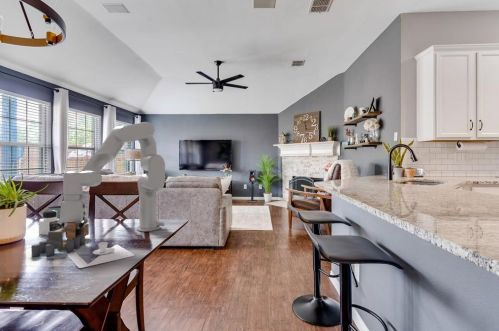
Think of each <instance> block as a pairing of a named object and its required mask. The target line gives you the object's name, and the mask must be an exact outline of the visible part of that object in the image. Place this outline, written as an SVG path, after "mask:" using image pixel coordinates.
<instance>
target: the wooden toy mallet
mask: <svg viewBox="0 0 499 331" xmlns="http://www.w3.org/2000/svg"><path fill="white" fill-rule="evenodd" d="M76 229H77V227H76V222H73V223H67V226H66V227H63V228H61V229H58V230H56V231H50V232H48V235H47V237H48V238H47V239H48V244H54V247H55V249H61V248H63V240H64V239H63V234H65V232H66V231H67V238H66V240H72V238H75V237H76ZM81 234H85V237H86V236H89V234H90V223H89V222H88V223H86V224H85V225H84V226H83V227H82V228H81Z"/></svg>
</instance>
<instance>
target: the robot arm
mask: <svg viewBox="0 0 499 331" xmlns="http://www.w3.org/2000/svg"><path fill="white" fill-rule="evenodd" d="M154 133H155V126H154V125H153V124H152V123H151V122H148V121H142V122H138V123H137V122H136V123H132V124H126V125H121V126H115V127H114V128H112V129H111V131H110V132H109V133H108V135H107V137H106V138H105V140H104V141H103V143H102V144H101V146H100V147H99V148H98V150H97V151H96V152H95V153H94V155H92V157H90V158H89V159H88V161H87V162H86V164H84V165H85V166H83V168H82V170H81V171H66V172H64V173H63V176H62V177H63V178H62V179H63V181H62V182H63V183H62V185H63V187H62V189H63V192H62V194H63V196H62V198H63V200H62V201H61V205H60V206H61V210H60V219H59V220H58V222H57V223H59V224H60V225H62V226H63V227H66V226H67V223H73V222H76V227H77V229H76V237H78V235H81V228H82V227H83V226H84V225H85V224H87V223H89V222H90V220H89V219H88V212H87V205H86V201H85V200H84V199H86V195H84V193H83V191H84V190H83V187H97V186H100V185H101V183H102V182H103V175H102V174H101V173H100V172H101V171H102V170H103V168H104V167H105V166H106V165H107V164H109V163H111V162H112V161H114V160H115V159H116V157H117V156H118V155H119V153H120V151H121V150H122V148H123V147H124V145H125V143H131V142H135V141H138V143H139V145H140V159H139V160H140V162H139V163H140V167H141V169H142V170H143V171H146V172H147V173H144V174H141V175H140V176H139V177H138V180H137V190H138V196H139V197H138V198H139V202H138V205H139V207H138V208H139V209H138V210H139V212H138V214H139V216H138V217H139V219H138V221H139V226H136V231H138V232H153V231H157V230H159V229H160V228H161V227H164V226H165V224H166V223H165V222H164V221H160V219H158V193H157V192H159V191H161V190H163V188H164V186H165V183H166V182H165V181H166V162H165V159H164V157H162V155H160V154H157V151H158V150H157V143H156V140H155V138H154V137H153V135H154ZM64 234H65V237H66V239H67V231H66V232H64Z"/></svg>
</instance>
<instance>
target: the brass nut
mask: <svg viewBox="0 0 499 331" xmlns="http://www.w3.org/2000/svg"><path fill="white" fill-rule="evenodd" d="M66 241H69V240H67V239H63V248H61V249H58V250H65V249H66Z"/></svg>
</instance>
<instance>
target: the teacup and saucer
mask: <svg viewBox="0 0 499 331" xmlns="http://www.w3.org/2000/svg"><path fill="white" fill-rule="evenodd" d="M115 250H116V249H115V248H114V247H112V246H111V247H108V241H101V242H99V243H98V249H95V250H93V251H92V254H94V255H98V256H100V255H107V254H111V253H113V252H114V251H115Z"/></svg>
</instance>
